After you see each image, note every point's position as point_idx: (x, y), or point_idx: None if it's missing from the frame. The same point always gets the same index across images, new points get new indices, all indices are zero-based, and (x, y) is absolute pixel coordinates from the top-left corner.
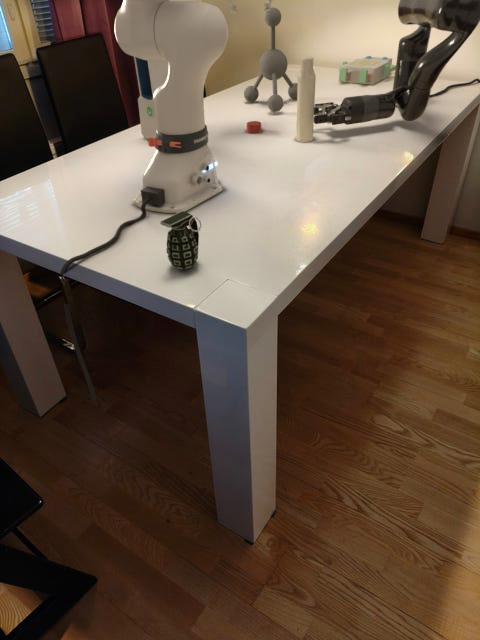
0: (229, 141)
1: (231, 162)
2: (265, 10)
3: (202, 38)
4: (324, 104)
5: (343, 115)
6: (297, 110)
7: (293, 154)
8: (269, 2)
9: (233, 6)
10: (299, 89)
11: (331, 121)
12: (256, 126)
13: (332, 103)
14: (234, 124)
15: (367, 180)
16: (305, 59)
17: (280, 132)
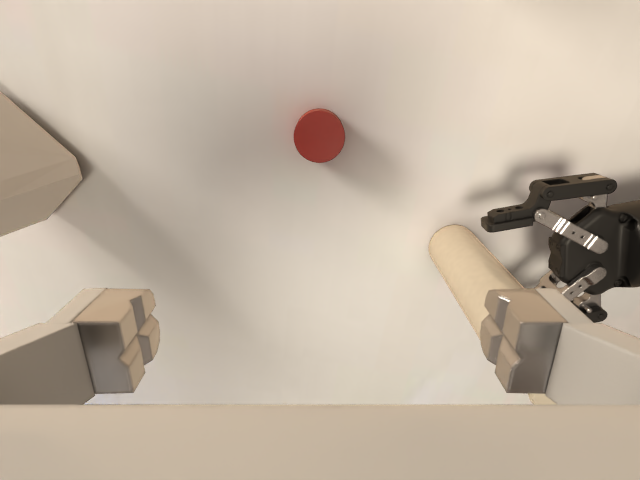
0: (238, 217)
1: (245, 359)
2: (482, 346)
3: None
4: (568, 225)
5: None
6: (452, 288)
7: (394, 341)
8: (566, 404)
9: (99, 389)
10: (477, 335)
11: None
12: (325, 160)
13: (608, 193)
14: (254, 33)
15: None
16: None
17: (400, 168)
